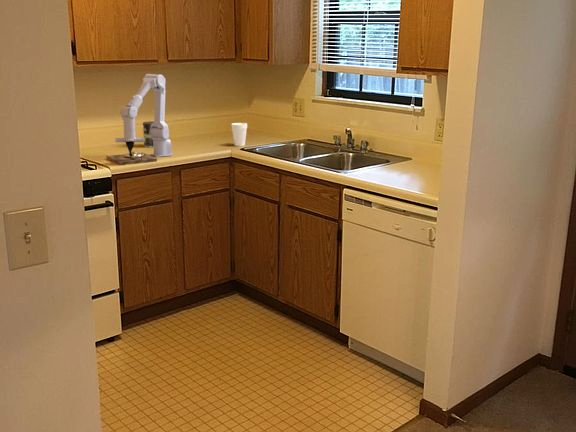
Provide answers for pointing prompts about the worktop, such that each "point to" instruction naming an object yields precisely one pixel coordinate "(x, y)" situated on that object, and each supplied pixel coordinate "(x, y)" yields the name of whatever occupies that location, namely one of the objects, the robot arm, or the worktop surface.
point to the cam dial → (134, 155)
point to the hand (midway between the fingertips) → (130, 156)
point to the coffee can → (147, 134)
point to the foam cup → (239, 133)
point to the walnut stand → (125, 160)
